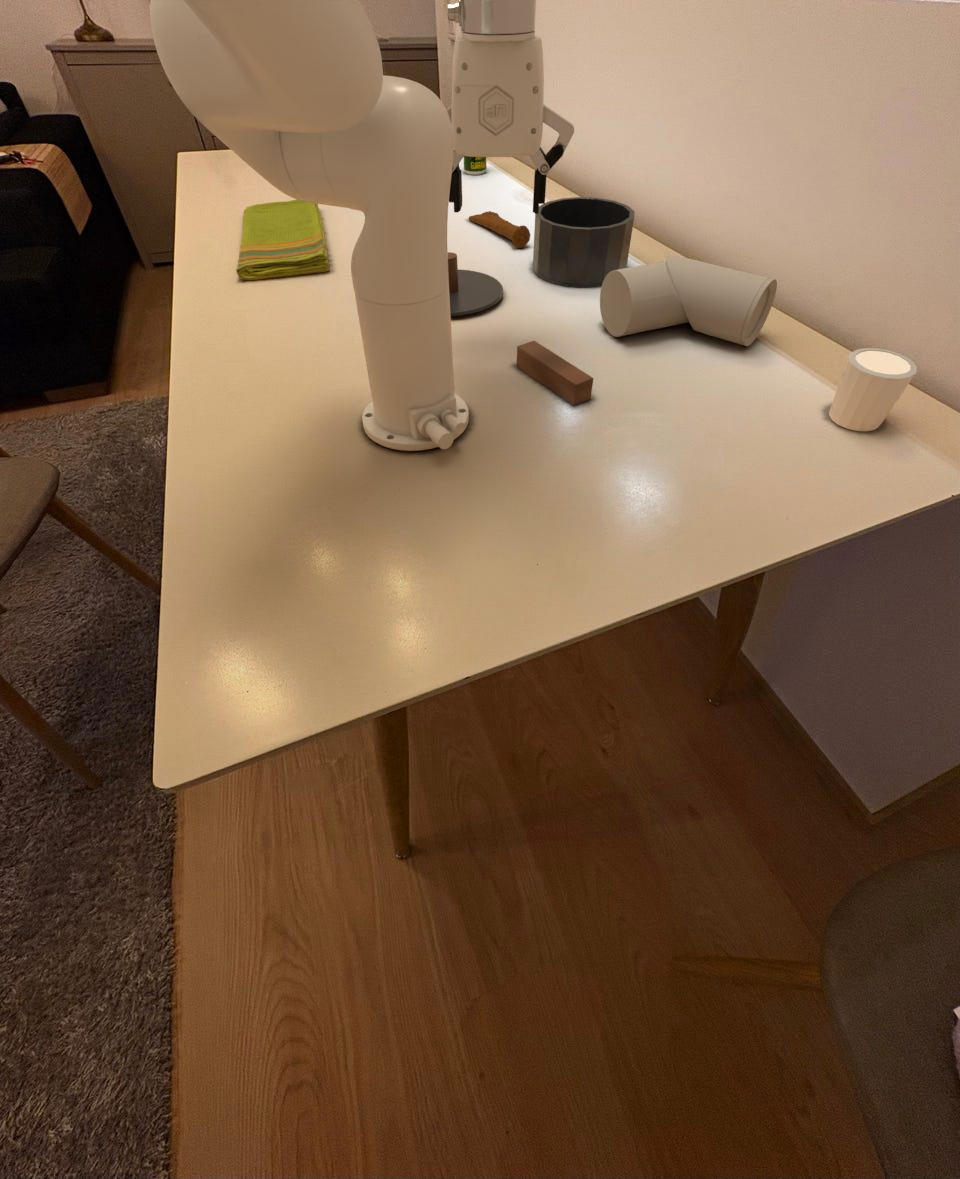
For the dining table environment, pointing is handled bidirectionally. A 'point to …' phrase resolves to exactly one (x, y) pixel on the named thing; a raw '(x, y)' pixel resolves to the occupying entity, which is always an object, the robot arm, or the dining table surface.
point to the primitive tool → (503, 228)
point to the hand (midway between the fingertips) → (496, 209)
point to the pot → (581, 240)
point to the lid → (470, 289)
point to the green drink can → (474, 165)
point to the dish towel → (282, 240)
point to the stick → (554, 372)
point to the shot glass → (870, 388)
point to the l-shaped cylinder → (687, 299)
